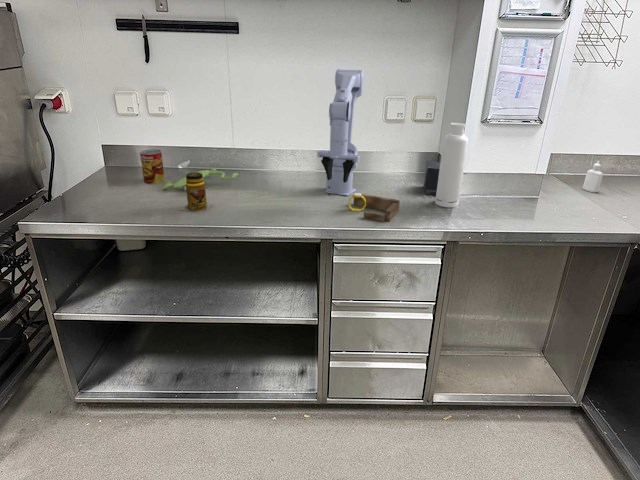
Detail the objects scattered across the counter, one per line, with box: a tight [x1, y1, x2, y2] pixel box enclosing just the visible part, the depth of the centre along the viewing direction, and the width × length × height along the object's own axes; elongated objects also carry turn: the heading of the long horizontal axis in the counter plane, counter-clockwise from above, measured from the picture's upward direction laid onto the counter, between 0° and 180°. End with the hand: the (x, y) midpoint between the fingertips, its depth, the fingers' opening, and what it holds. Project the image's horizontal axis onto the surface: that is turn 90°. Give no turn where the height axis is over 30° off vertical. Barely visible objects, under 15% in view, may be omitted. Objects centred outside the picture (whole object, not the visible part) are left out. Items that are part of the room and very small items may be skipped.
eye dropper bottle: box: [582, 160, 604, 194], centre depth 172 cm, size 4×6×12 cm
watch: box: [347, 192, 366, 212], centre depth 148 cm, size 6×3×6 cm, turn 84°
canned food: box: [139, 148, 166, 185], centre depth 173 cm, size 8×8×12 cm
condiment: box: [178, 171, 213, 214], centre depth 146 cm, size 7×8×12 cm
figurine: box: [162, 168, 239, 191], centre depth 169 cm, size 18×27×6 cm
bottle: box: [434, 122, 469, 208], centre depth 152 cm, size 8×8×28 cm
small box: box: [422, 160, 441, 196], centre depth 169 cm, size 11×6×10 cm, turn 168°
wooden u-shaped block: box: [352, 193, 401, 222], centre depth 147 cm, size 16×12×4 cm
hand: (337, 180), depth 149 cm, fingers open, 5 cm apart
